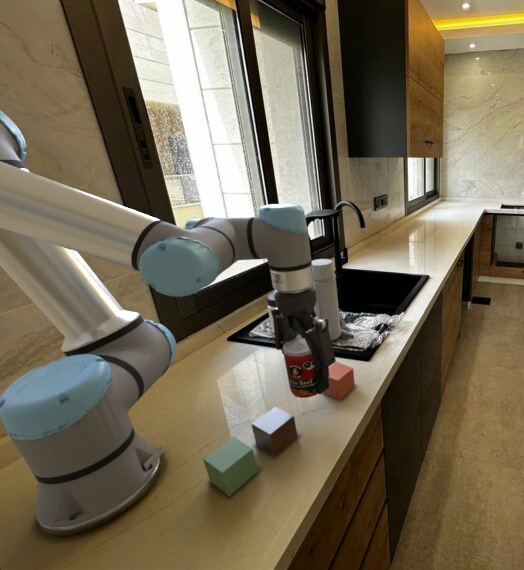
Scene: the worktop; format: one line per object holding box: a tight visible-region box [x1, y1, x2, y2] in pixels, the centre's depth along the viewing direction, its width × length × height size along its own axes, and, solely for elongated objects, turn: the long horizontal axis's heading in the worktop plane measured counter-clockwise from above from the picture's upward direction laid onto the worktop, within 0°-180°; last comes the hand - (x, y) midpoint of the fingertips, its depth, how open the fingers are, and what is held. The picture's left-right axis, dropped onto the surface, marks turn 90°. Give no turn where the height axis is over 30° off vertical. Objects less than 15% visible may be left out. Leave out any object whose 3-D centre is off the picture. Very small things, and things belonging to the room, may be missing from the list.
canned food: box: [283, 334, 319, 399], centre depth 69 cm, size 8×8×11 cm
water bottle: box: [311, 258, 342, 342], centre depth 99 cm, size 9×8×25 cm
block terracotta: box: [322, 361, 356, 400], centre depth 80 cm, size 6×6×6 cm
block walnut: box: [250, 405, 298, 457], centre depth 65 cm, size 6×6×6 cm
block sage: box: [202, 436, 259, 497], centre depth 57 cm, size 6×6×6 cm
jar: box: [266, 292, 277, 333], centre depth 107 cm, size 9×8×12 cm
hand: (309, 384), depth 71 cm, fingers closed on canned food, 8 cm apart
